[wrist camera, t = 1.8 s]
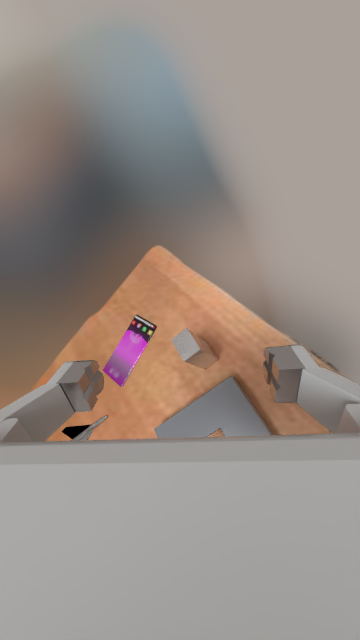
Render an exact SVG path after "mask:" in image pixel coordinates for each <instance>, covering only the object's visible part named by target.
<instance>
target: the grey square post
mask: <svg viewBox="0 0 360 640" xmlns="http://www.w3.org/2000/svg"><path fill="white" fill-rule="evenodd" d="M172 342H173V344H174V345H175V347H176V349H177V351H178V352H179V354H180V356H181V358H182V359H183V361H184V362H186V363H189V364H192V365H195V366H197V367H200V368H203V369H207V368H209V367H210V366H211V365H213V364H214V363H216V362H217V361H218V360H219V359H218V358H217V356H216V355H215V353H214V352H213V351H212V349H211V348H210V346H209V345H208V343H207V342H205V341H204V340H203V339H201V338H200V337H198V336H197V335H196V334H194V333H193V332H192V331H190V330H189V329H187V328H186V329H185V330H183V331H182V332H181V333H180V334H178V335H177V336H176V337H174V338H173V339H172Z"/></svg>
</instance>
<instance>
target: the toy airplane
mask: <svg viewBox="0 0 360 640" xmlns="http://www.w3.org/2000/svg"><path fill="white" fill-rule="evenodd" d="M106 418H107V415H106V416H104V417H102V418H100V419H99V420H97V421H96V422H95V423H93V424H92V425H85V426H75V427H66V428H65V429H64V430H63V431H62V432H63V433H64V434H66V435H67V436H69V437H70V438H71V439H72V440H71V441H80V440H87V439H88V438H89V436H90V434H91V432H92V431H93V429H95V428H96V427H97V426H99V425H100V424H101V423H102V422H103V421H104V420H105V419H106Z"/></svg>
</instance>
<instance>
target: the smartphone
mask: <svg viewBox="0 0 360 640" xmlns="http://www.w3.org/2000/svg"><path fill="white" fill-rule="evenodd" d="M156 328H157V326H156V325H154V324H152V323H150V322H149V321H147V320H145V319H143V318H142V317H140V316H138V315H136V316H135V317H134V319H133V321H132V322H131V324H130V326H129V327H128V329H127V331H126V332H125V334H124V336H123V337H122V339H121V341H120V342H119V344H118V346H117V347H116V349H115V351H114V352H113V354H112V356H111V357H110V359H109V361H108V363H107V364H106V366H105V368H104V369H103V371H104V372H105V373H106V374H107V375H109V376H110V377H111V378H112V379H113V380H114V381H115V382H116V383H117V384H119V385H120V386H123V385H124V383H125V381H126V380H127V378H128V376H129V375H130V373H131V371H132V369H133V368H134V366H135V364H136V362H137V361H138V359H139V357H140V356H141V354H142V352H143V350H144V349H145V347H146V345H147V343H148V342H149V340H150V338H151V337H152V335H153V333H154V331H155V330H156Z"/></svg>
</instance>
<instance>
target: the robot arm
mask: <svg viewBox="0 0 360 640" xmlns="http://www.w3.org/2000/svg"><path fill="white" fill-rule="evenodd" d="M264 356H265V358H266V360H265V362H264V363H263V370H264V376H265V380H266V382H267V383H268V384H269V385H270V392H271V394H272V396H273V399H274V401H275V403H291V402H297V404H298V405H299V406H300V407H301V408H303V409H304V410H305V411H306V412H307V413H309V414H310V415H311V416H312V417H313V418H315V419H316V420H317V421H318V422H320V423H321V424H322V425H323V426H324V427H326V428H327V429H328V430H329V431H330V432H332V433H333V434H300V435H264V436H226V437H189V438H153V439H117V440H80V441H45V440H47V439H48V438H49V437H50V436H51V435H52V434H53V433H54V432H55V431H56V430H57V429H58V428H59V427H60V426H62V425H63V424H64V423H65V422H66V421H67V420H68V419H69V418H70V417H71V416H72V415H73V414H74V413H75V412H84V411H92V409H93V408H94V406H95V404H96V402H97V400H98V399H97V395H98V394H100V393H101V392H102V390H103V388H104V376H103V374H102V373H101V372H100V371H99V370H98V369H99V367H100V366H99V364H98V362H97V361H95V360H86V361H70V362H65V363H64V364H63V365H62V366H61V367H60V369H59V370H58V371H57V372H56V373H55V374H54V376H53V377H52V378H51V379H50V380H49V381H48V383H47V384H46V385H42V386H40V387H38V388H37V389H35V390H33V391H32V392H30V393H28V394H27V395H25V396H23V397H21V398H20V399H18V400H16V401H15V402H13V403H11V404H10V405H8V406H6V407H5V408H3V409H1V410H0V640H360V385H359V384H357V383H355V382H353V381H351V380H349V379H347V378H345V377H343V376H341V375H339V374H336V373H334V372H332V371H330V370H328V369H326V368H320V367H319V366H318V364H317V363H316V362H315V361H314V359H313V358H312V357H311V356H310V354H309V353H308V352H307V351H306V349H305V348H304V347H303V346H302V345H300V344H297V345H288V346H280V347H267V348H265V350H264Z"/></svg>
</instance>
